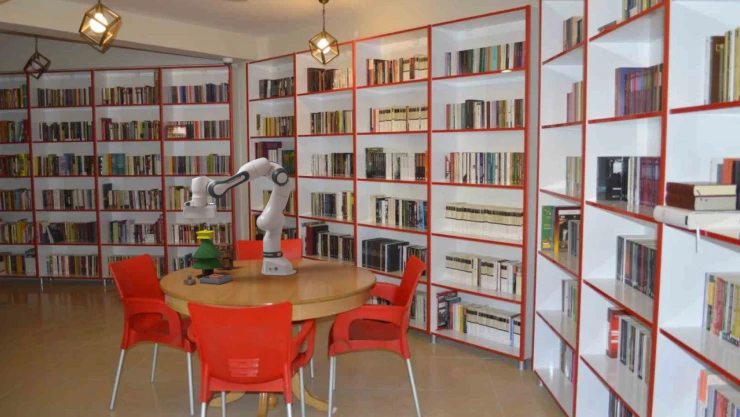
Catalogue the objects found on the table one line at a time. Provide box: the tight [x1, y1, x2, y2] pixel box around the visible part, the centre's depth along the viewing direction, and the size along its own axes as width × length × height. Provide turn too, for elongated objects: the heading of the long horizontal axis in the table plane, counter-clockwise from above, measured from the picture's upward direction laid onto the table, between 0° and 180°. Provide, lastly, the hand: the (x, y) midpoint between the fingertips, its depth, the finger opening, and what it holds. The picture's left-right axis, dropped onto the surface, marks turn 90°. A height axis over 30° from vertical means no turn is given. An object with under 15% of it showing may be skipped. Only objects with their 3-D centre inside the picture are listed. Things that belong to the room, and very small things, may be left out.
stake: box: [182, 271, 197, 286], centre depth 357 cm, size 5×5×7 cm
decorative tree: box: [191, 229, 223, 278], centre depth 380 cm, size 19×19×30 cm
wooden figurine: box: [216, 242, 235, 271], centre depth 403 cm, size 12×6×18 cm, turn 100°
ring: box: [209, 273, 224, 279], centre depth 364 cm, size 6×6×3 cm
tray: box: [199, 273, 233, 286], centre depth 364 cm, size 14×14×3 cm
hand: (200, 226), depth 358 cm, fingers open, 8 cm apart
